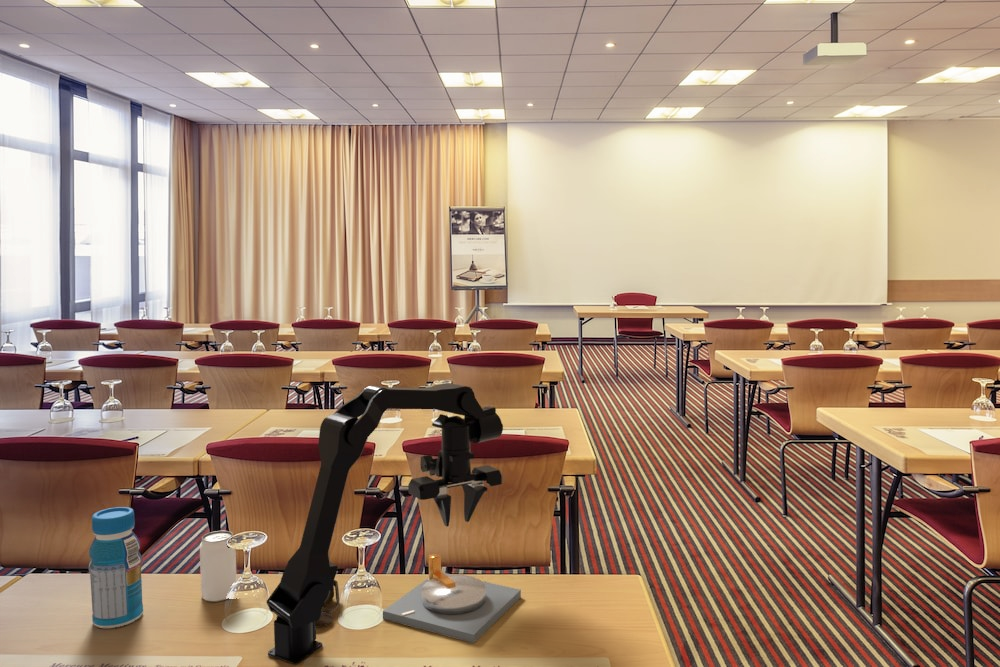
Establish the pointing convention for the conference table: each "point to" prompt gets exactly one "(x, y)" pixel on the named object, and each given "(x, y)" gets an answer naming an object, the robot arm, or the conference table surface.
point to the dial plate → (453, 625)
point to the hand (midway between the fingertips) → (456, 523)
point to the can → (217, 566)
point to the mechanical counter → (325, 614)
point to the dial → (451, 590)
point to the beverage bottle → (115, 569)
